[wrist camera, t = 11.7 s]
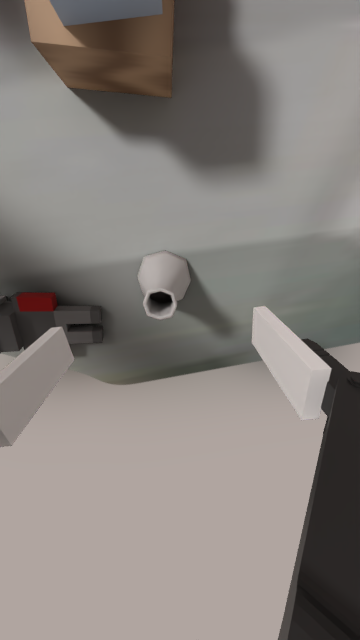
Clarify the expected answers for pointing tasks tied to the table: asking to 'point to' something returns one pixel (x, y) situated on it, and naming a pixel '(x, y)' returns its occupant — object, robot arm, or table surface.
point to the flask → (163, 283)
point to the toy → (44, 320)
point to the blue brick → (103, 10)
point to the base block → (107, 50)
